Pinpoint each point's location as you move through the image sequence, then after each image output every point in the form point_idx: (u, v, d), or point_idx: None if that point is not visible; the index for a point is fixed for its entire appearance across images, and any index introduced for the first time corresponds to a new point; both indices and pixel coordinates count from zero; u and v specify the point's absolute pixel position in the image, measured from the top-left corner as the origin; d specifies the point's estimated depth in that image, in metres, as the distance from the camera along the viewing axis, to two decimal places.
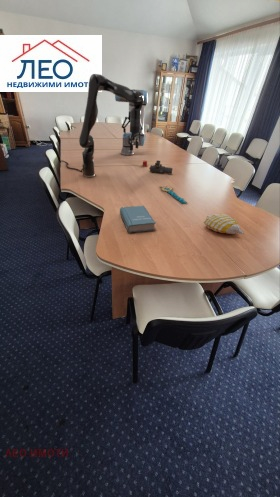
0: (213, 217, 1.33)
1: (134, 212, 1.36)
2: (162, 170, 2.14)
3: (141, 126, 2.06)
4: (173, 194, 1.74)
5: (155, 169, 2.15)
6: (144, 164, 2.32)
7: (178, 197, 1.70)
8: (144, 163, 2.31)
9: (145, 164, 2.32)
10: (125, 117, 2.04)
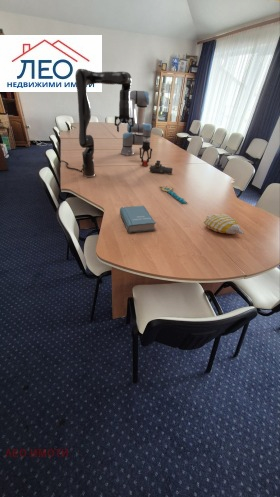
0: (213, 217, 1.33)
1: (134, 212, 1.36)
2: (162, 170, 2.14)
3: (150, 156, 2.28)
4: (173, 194, 1.74)
5: (155, 169, 2.15)
6: (144, 164, 2.32)
7: (178, 197, 1.70)
8: (144, 163, 2.32)
9: (145, 164, 2.32)
10: (139, 148, 2.23)
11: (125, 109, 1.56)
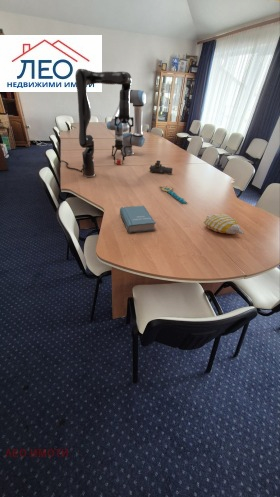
0: (213, 217, 1.33)
1: (134, 212, 1.36)
2: (162, 170, 2.14)
3: (125, 154, 2.26)
4: (173, 194, 1.74)
5: (155, 169, 2.15)
6: (118, 162, 2.31)
7: (178, 197, 1.70)
8: (118, 161, 2.30)
9: (119, 162, 2.31)
10: (112, 146, 2.21)
11: (125, 109, 1.56)
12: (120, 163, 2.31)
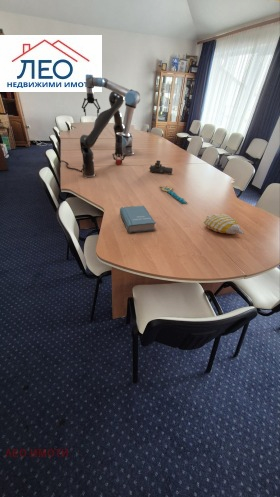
0: (213, 217, 1.33)
1: (134, 212, 1.36)
2: (162, 170, 2.14)
3: (99, 106, 2.41)
4: (173, 194, 1.74)
5: (155, 169, 2.15)
6: (118, 162, 2.31)
7: (178, 197, 1.70)
8: (118, 161, 2.30)
9: (119, 162, 2.31)
10: (84, 98, 2.36)
11: (119, 148, 2.21)
12: (120, 163, 2.31)
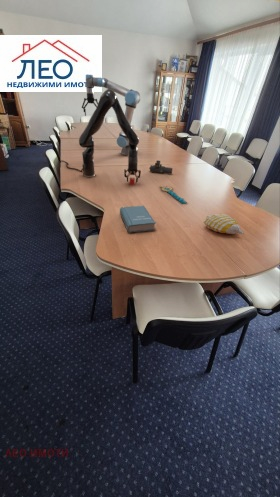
0: (213, 217, 1.33)
1: (134, 212, 1.36)
2: (162, 170, 2.14)
3: None
4: (173, 194, 1.74)
5: (155, 169, 2.15)
6: (131, 182, 1.87)
7: (178, 197, 1.70)
8: (131, 181, 1.86)
9: (133, 182, 1.87)
10: (84, 98, 2.36)
11: (133, 164, 1.77)
12: (134, 183, 1.87)
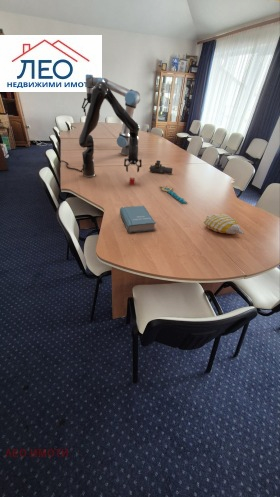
0: (213, 217, 1.33)
1: (134, 212, 1.36)
2: (162, 170, 2.14)
3: None
4: (173, 194, 1.74)
5: (155, 169, 2.15)
6: (131, 182, 1.87)
7: (178, 197, 1.70)
8: (131, 181, 1.86)
9: (133, 182, 1.87)
10: (84, 98, 2.36)
11: (134, 153, 1.72)
12: (134, 183, 1.87)
